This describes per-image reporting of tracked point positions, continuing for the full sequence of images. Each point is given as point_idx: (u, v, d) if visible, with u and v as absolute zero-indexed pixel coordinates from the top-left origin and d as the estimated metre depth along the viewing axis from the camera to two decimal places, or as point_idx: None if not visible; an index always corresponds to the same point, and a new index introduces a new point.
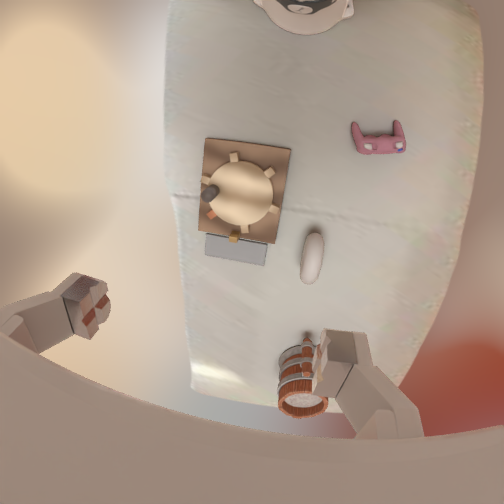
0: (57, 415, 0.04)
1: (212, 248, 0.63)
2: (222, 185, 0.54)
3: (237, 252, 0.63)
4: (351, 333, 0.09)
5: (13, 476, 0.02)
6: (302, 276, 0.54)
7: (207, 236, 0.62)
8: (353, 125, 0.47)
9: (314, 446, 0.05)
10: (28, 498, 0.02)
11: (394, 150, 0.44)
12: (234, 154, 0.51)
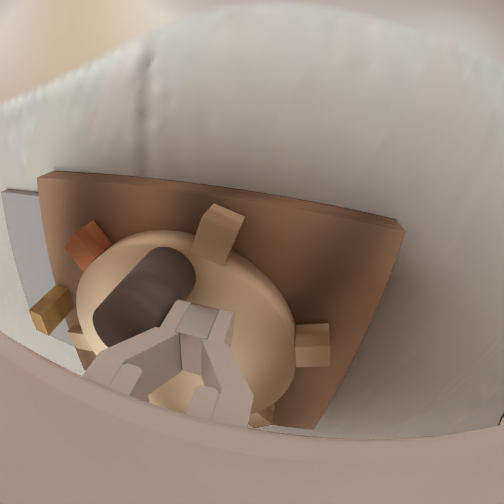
0: (57, 415, 0.04)
1: (17, 215, 0.15)
2: None
3: (33, 281, 0.18)
4: (216, 309, 0.09)
5: (13, 476, 0.02)
6: None
7: (35, 201, 0.15)
8: None
9: (314, 446, 0.05)
10: (28, 499, 0.02)
11: None
12: (324, 359, 0.13)
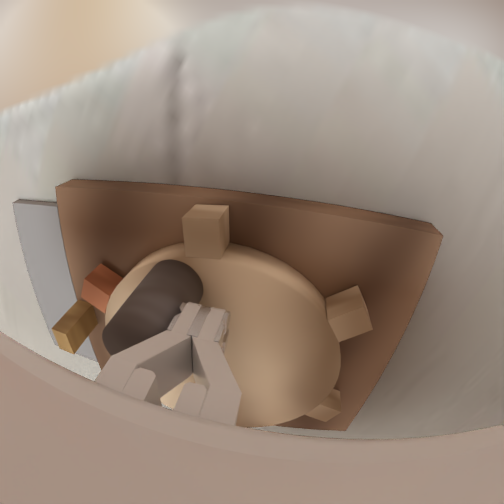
0: (57, 415, 0.04)
1: (31, 227, 0.15)
2: None
3: (51, 296, 0.18)
4: (207, 308, 0.09)
5: (13, 476, 0.02)
6: None
7: (53, 211, 0.14)
8: None
9: (314, 446, 0.05)
10: (28, 499, 0.02)
11: None
12: (364, 323, 0.11)
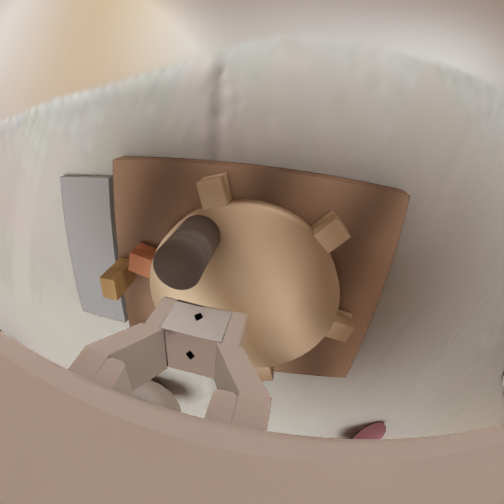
0: (57, 415, 0.04)
1: (78, 197, 0.20)
2: (231, 250, 0.17)
3: (88, 260, 0.22)
4: (229, 312, 0.09)
5: (13, 476, 0.02)
6: None
7: (103, 182, 0.19)
8: (382, 432, 0.27)
9: (314, 446, 0.05)
10: (27, 498, 0.02)
11: None
12: (342, 233, 0.16)
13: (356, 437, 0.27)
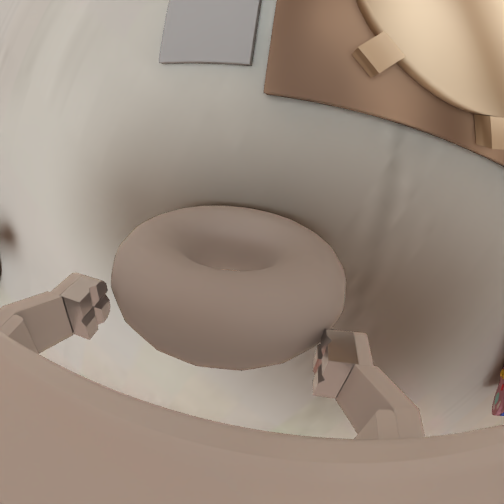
0: (57, 415, 0.04)
1: None
2: None
3: None
4: (351, 333, 0.09)
5: (13, 476, 0.02)
6: (143, 277, 0.09)
7: None
8: None
9: (314, 446, 0.05)
10: (28, 499, 0.02)
11: None
12: None
13: None
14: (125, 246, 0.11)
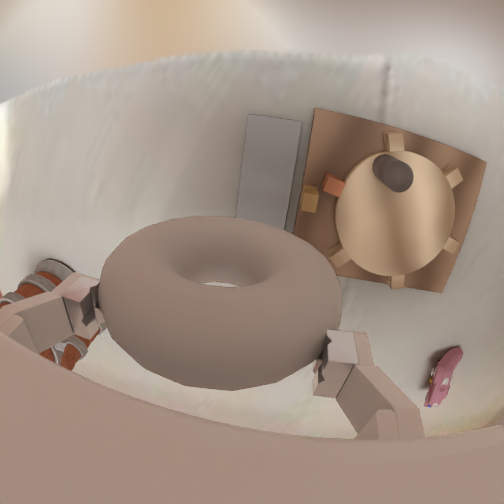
0: (57, 415, 0.04)
1: (266, 133, 0.26)
2: None
3: (261, 188, 0.28)
4: (351, 333, 0.09)
5: (13, 476, 0.02)
6: (129, 293, 0.08)
7: (296, 124, 0.25)
8: (461, 353, 0.32)
9: (314, 446, 0.05)
10: (28, 499, 0.02)
11: (431, 403, 0.33)
12: (459, 177, 0.22)
13: (443, 358, 0.33)
14: (112, 260, 0.10)
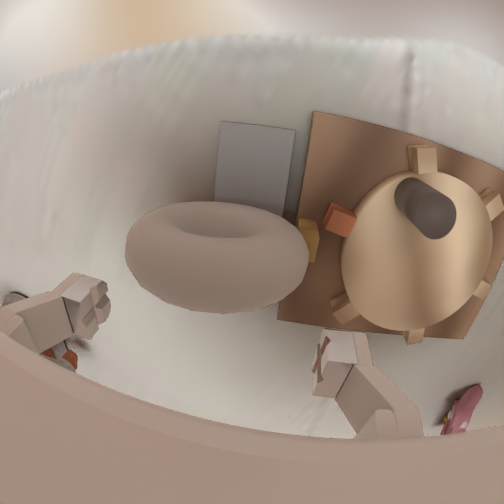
0: (57, 415, 0.04)
1: (246, 147, 0.19)
2: None
3: None
4: (351, 333, 0.09)
5: (13, 476, 0.02)
6: (140, 232, 0.13)
7: (287, 134, 0.18)
8: (481, 393, 0.25)
9: (314, 446, 0.05)
10: (28, 499, 0.02)
11: None
12: (501, 205, 0.15)
13: (462, 399, 0.26)
14: (141, 217, 0.15)
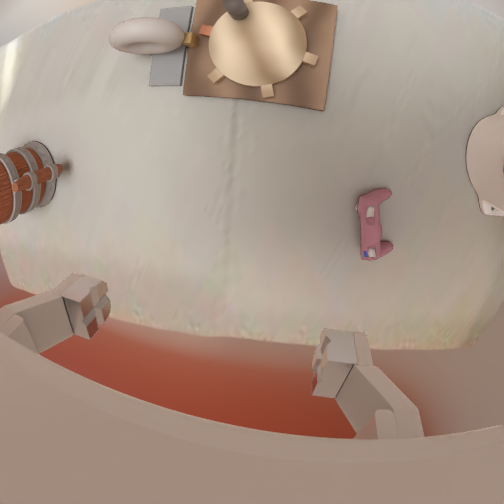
0: (57, 415, 0.04)
1: (170, 16, 0.31)
2: (253, 18, 0.28)
3: None
4: (351, 333, 0.09)
5: (13, 476, 0.02)
6: None
7: (188, 8, 0.30)
8: (389, 191, 0.37)
9: (314, 446, 0.05)
10: (27, 498, 0.02)
11: (365, 247, 0.37)
12: (303, 10, 0.26)
13: (368, 193, 0.37)
14: None
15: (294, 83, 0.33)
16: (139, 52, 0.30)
